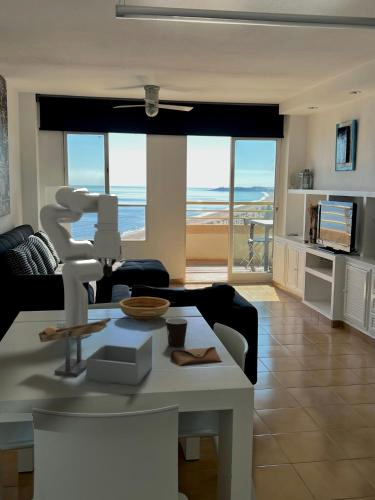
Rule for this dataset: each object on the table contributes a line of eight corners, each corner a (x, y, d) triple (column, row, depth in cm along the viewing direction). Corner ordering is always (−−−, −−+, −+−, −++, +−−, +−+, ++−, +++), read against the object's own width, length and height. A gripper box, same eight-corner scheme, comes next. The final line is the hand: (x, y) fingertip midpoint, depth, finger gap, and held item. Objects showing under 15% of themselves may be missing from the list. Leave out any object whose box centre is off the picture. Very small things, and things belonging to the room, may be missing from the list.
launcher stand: (54, 373, 162) (54, 332, 160) (70, 361, 174) (70, 323, 172) (76, 376, 160) (76, 335, 158) (91, 363, 172) (91, 325, 170)
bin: (86, 379, 158) (86, 344, 156) (104, 363, 173) (104, 330, 171) (137, 385, 154) (138, 349, 152) (151, 368, 169) (152, 335, 167)
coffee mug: (184, 349, 189) (185, 324, 188) (163, 347, 191) (163, 323, 190) (190, 340, 201) (191, 317, 199) (170, 338, 202) (170, 315, 201)
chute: (40, 342, 165) (38, 333, 165) (63, 328, 181) (61, 320, 181) (99, 331, 159) (96, 322, 159) (117, 318, 176) (115, 310, 175)
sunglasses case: (177, 366, 171) (175, 347, 173) (172, 370, 177) (169, 352, 179) (224, 361, 177) (221, 343, 180) (217, 365, 183) (214, 347, 186)
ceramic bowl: (116, 311, 244) (116, 296, 243) (164, 310, 249) (164, 294, 248) (121, 328, 215) (121, 311, 214) (175, 326, 220) (175, 309, 219)
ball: (44, 338, 166) (42, 328, 166) (49, 335, 169) (47, 325, 169) (53, 337, 165) (51, 326, 165) (58, 334, 169) (56, 324, 168)
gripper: (84, 227, 178) (84, 276, 181) (123, 229, 175) (123, 279, 177) (93, 226, 185) (93, 273, 188) (130, 227, 182) (129, 275, 185)
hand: (107, 275), depth 183 cm, fingers closed
